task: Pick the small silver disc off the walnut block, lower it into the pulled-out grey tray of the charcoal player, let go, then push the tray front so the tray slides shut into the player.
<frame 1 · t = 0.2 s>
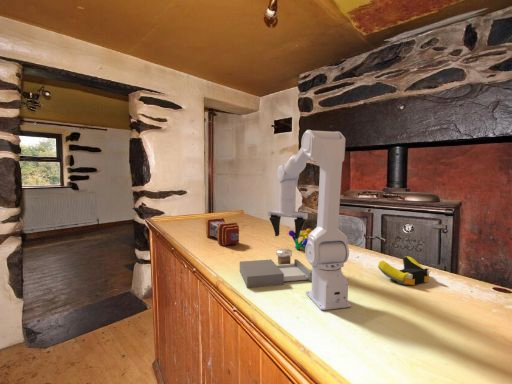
hand: (286, 237, 94), 10 cm above the worktop, tool pointing down, fingers open, 7 cm apart
disc: (284, 254, 93), point 3 cm above the worktop, touching walnut block
walnut block: (284, 264, 94), on the worktop
tray: (289, 270, 83), point 2 cm above the worktop, slide at 8.0 cm
lantern: (222, 241, 126), on the worktop
decorative model: (305, 249, 114), on the worktop
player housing: (261, 277, 81), on the worktop
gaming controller: (405, 279, 81), on the worktop
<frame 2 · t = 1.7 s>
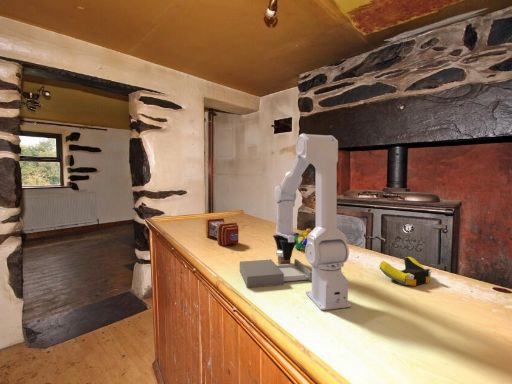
hand: (284, 257, 93), 3 cm above the worktop, tool pointing down, fingers closed on disc, 6 cm apart
disc: (284, 254, 93), point 3 cm above the worktop, touching gripper, walnut block
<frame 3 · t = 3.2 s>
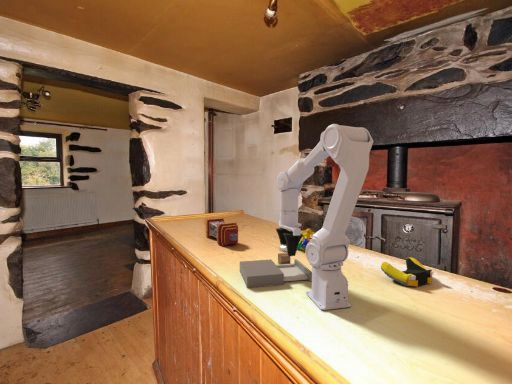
hand: (288, 252, 83), 7 cm above the worktop, tool pointing down, fingers closed on disc, 6 cm apart
disc: (288, 250, 83), point 8 cm above the worktop, touching gripper
when the fingers open (1 cm above the worktop, at t = 4.8 s): disc drops 1 cm, resting on tray.
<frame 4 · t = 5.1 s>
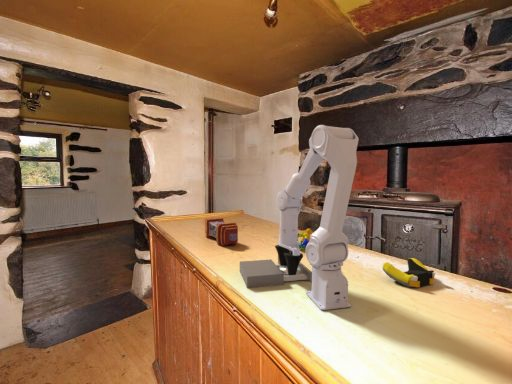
hand: (287, 270, 83), 1 cm above the worktop, tool pointing down, fingers open, 7 cm apart
disc: (287, 272, 83), point 1 cm above the worktop, touching tray
tray: (289, 270, 83), point 2 cm above the worktop, slide at 8.0 cm, touching disc
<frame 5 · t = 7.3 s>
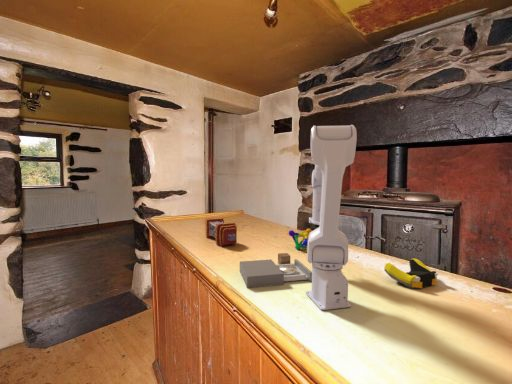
hand: (320, 248, 85), 8 cm above the worktop, tool pointing down, fingers closed
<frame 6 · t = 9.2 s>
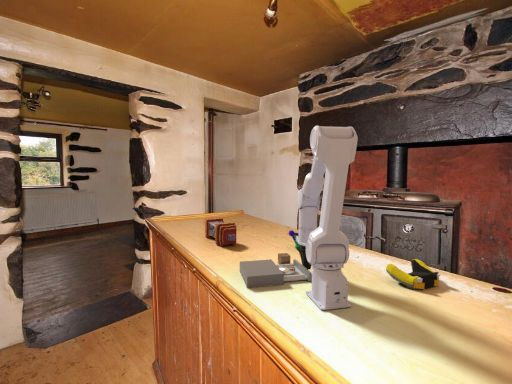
hand: (306, 268, 85), 2 cm above the worktop, tool pointing down, fingers closed, pressing on tray
tray: (287, 270, 83), point 2 cm above the worktop, slide at 7.6 cm, touching disc, gripper
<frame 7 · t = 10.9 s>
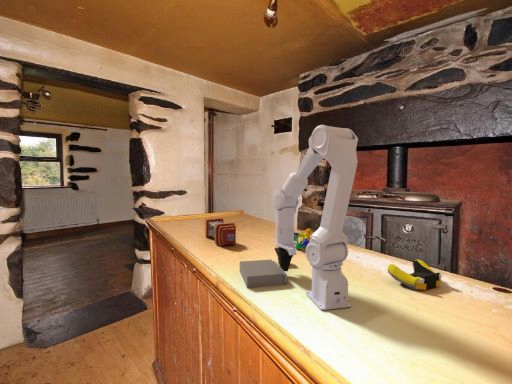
hand: (284, 270, 83), 2 cm above the worktop, tool pointing down, fingers closed, pressing on tray
disc: (263, 274, 81), point 1 cm above the worktop, touching tray
tray: (264, 272, 81), point 2 cm above the worktop, slide at -0.1 cm, touching disc, gripper
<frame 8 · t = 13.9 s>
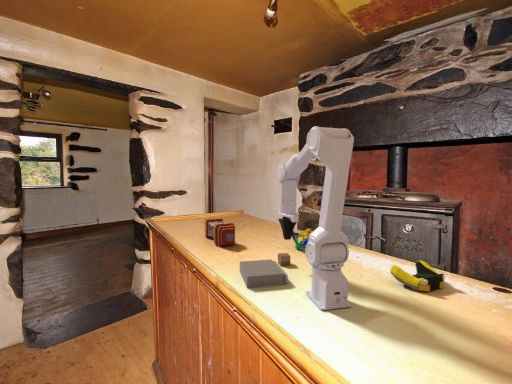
hand: (287, 239, 90), 10 cm above the worktop, tool pointing down, fingers closed
tray: (264, 272, 82), point 2 cm above the worktop, slide at 0.0 cm, touching disc
at the end: tray slide at 0.0 cm; disc inside the target area on the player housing (0.2 cm from its centre), point 1.0 cm above the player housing's base; the gripper is holding nothing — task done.
